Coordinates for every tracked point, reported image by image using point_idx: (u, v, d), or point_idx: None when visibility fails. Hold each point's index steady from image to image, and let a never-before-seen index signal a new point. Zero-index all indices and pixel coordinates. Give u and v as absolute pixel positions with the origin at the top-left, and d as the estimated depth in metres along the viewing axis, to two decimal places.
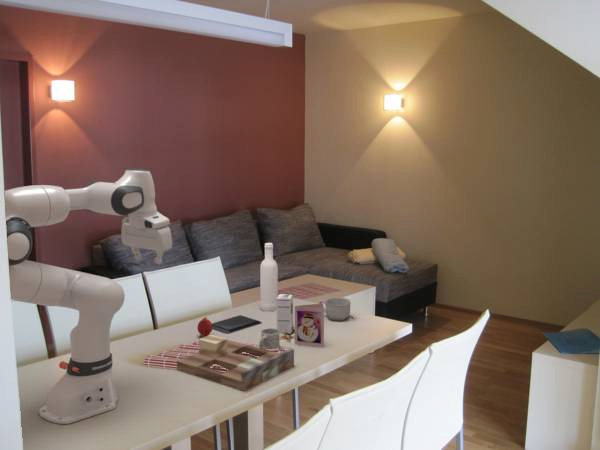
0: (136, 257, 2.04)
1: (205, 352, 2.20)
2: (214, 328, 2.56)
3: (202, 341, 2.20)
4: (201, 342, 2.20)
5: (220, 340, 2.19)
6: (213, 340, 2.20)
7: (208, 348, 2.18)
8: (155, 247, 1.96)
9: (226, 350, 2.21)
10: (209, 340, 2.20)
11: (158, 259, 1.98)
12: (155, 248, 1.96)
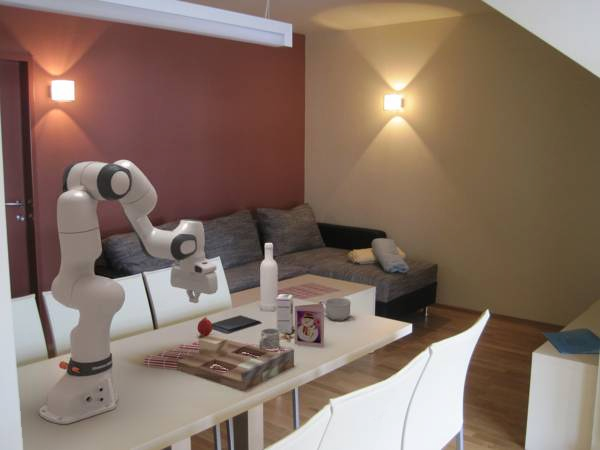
0: (190, 300, 2.24)
1: (205, 352, 2.20)
2: (214, 328, 2.56)
3: (202, 341, 2.20)
4: (201, 342, 2.20)
5: (220, 340, 2.19)
6: (213, 340, 2.20)
7: (208, 348, 2.18)
8: (202, 290, 2.18)
9: (226, 350, 2.21)
10: (209, 340, 2.20)
11: (195, 299, 2.23)
12: (202, 291, 2.18)
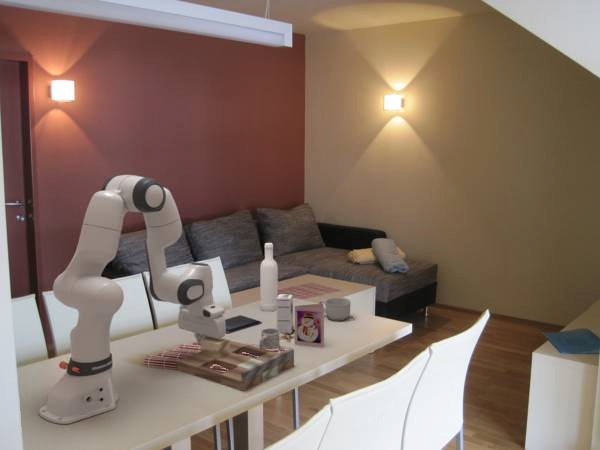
0: (198, 343, 2.24)
1: (207, 352, 2.19)
2: None
3: (204, 341, 2.19)
4: (203, 342, 2.19)
5: (222, 340, 2.19)
6: (216, 340, 2.19)
7: (210, 348, 2.18)
8: (210, 334, 2.19)
9: (228, 350, 2.21)
10: (211, 340, 2.19)
11: None
12: (210, 335, 2.19)
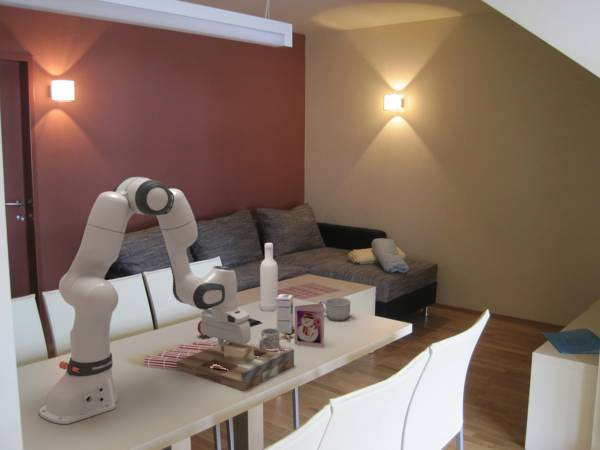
0: (222, 349, 2.18)
1: (231, 359, 2.13)
2: None
3: (228, 348, 2.13)
4: (227, 349, 2.13)
5: (246, 347, 2.13)
6: (239, 347, 2.13)
7: (234, 355, 2.12)
8: (235, 340, 2.12)
9: (252, 357, 2.15)
10: (235, 347, 2.13)
11: None
12: (234, 341, 2.13)
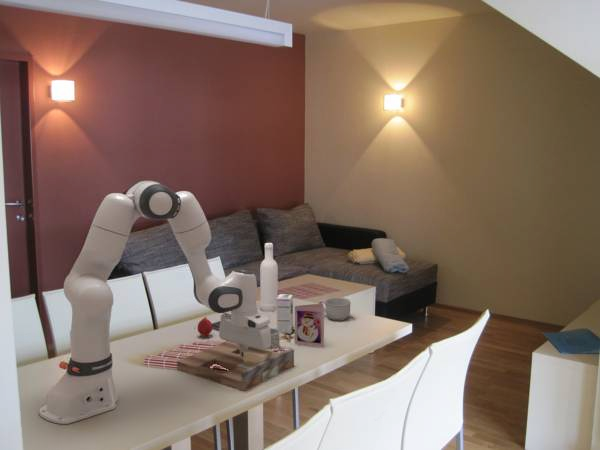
0: (242, 354, 2.13)
1: (250, 365, 2.08)
2: (214, 328, 2.56)
3: (247, 353, 2.08)
4: (246, 354, 2.09)
5: (266, 352, 2.08)
6: (259, 352, 2.08)
7: (254, 361, 2.07)
8: (255, 345, 2.07)
9: None
10: (255, 352, 2.08)
11: None
12: (254, 346, 2.08)
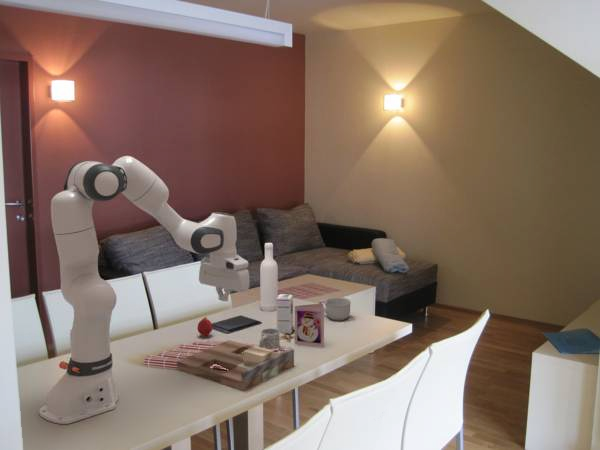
0: (220, 298, 2.13)
1: (250, 364, 2.08)
2: (214, 328, 2.56)
3: (247, 353, 2.08)
4: (246, 354, 2.09)
5: (266, 352, 2.08)
6: (259, 352, 2.08)
7: (254, 360, 2.07)
8: (233, 287, 2.07)
9: None
10: (254, 352, 2.08)
11: (225, 297, 2.12)
12: (233, 288, 2.07)
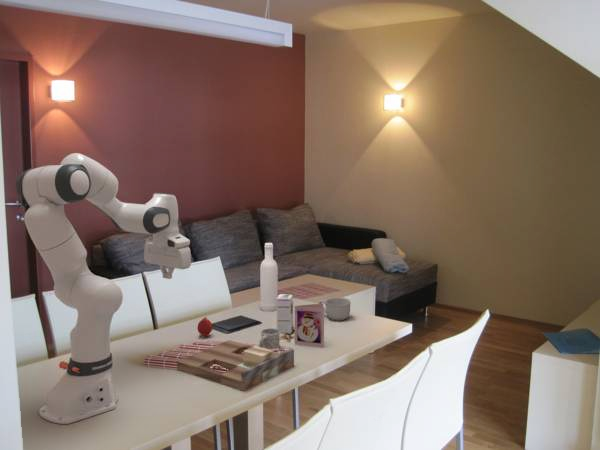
0: (164, 275, 2.20)
1: (250, 364, 2.08)
2: (214, 328, 2.56)
3: (247, 353, 2.08)
4: (246, 354, 2.09)
5: (266, 352, 2.08)
6: (259, 352, 2.08)
7: (254, 360, 2.07)
8: (175, 265, 2.14)
9: None
10: (254, 352, 2.08)
11: (169, 275, 2.19)
12: (175, 266, 2.14)
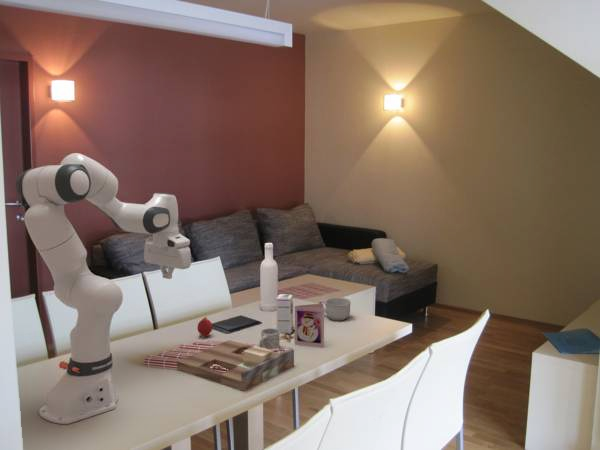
0: (164, 275, 2.20)
1: (250, 364, 2.08)
2: (214, 328, 2.56)
3: (247, 353, 2.08)
4: (246, 354, 2.09)
5: (266, 352, 2.08)
6: (259, 352, 2.08)
7: (254, 360, 2.07)
8: (175, 265, 2.14)
9: None
10: (254, 352, 2.08)
11: (168, 275, 2.19)
12: (175, 266, 2.14)
